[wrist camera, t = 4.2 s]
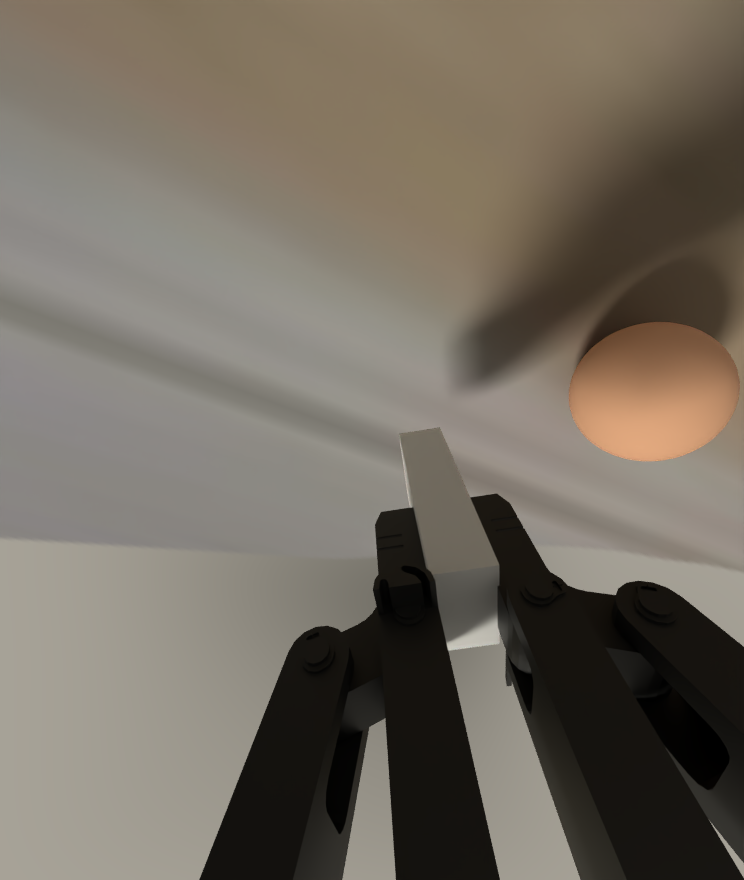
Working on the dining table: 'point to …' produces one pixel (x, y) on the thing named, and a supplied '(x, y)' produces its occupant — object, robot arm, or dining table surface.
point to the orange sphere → (654, 391)
